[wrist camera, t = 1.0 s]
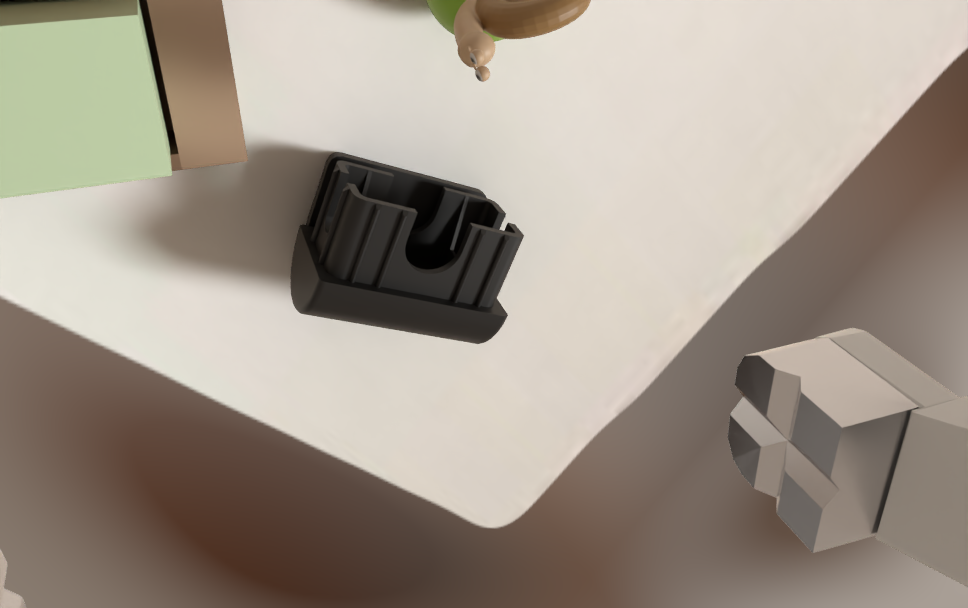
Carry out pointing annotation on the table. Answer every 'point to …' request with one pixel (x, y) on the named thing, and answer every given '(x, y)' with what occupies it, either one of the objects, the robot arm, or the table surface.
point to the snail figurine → (500, 23)
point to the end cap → (402, 252)
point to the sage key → (77, 97)
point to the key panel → (195, 81)
